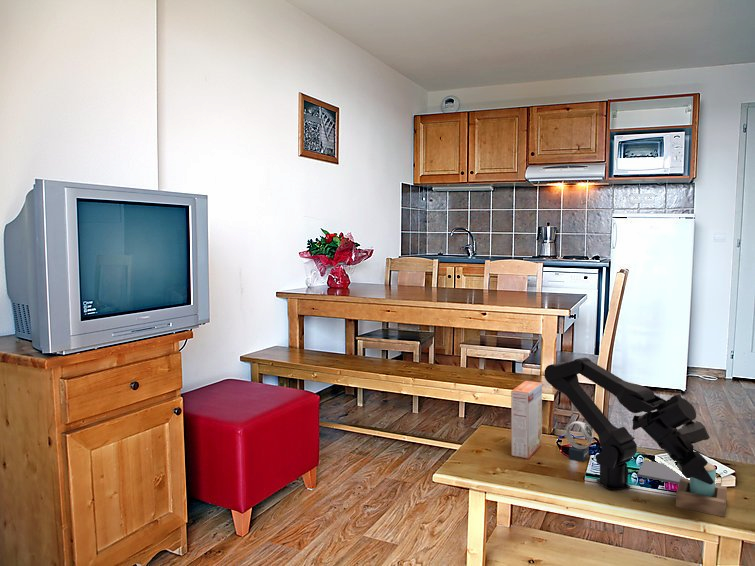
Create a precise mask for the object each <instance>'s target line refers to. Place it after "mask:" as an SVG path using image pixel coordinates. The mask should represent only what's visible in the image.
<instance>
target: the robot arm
mask: <svg viewBox="0 0 755 566" xmlns="http://www.w3.org/2000/svg"><path fill="white" fill-rule="evenodd" d="M578 375H581V376H583V377H585V378H586V379H587V380H590V381H591V382H592V383H594V384H596V385H597V386H599V387H600V388H602V389H604V390H605V391H607V392H608V393H610V394H611V395H613V396H614V397H616V399H617V401H618V402H619V404H621V406H623V407H624V408H625V409H626V410H628V411H629V412H630V413H632V414H638V413H639V414H640V413H642V412H644V413H643V414H641V415H634V416H633V418H632V430H633V431H635V430H637V429H640V428H641V429H642V430H643V431H644V432H645V433H646V434H647V436H648V437H650V438H651V439H652V440H653V441H654V442H655V443H656V444H657V446H658V447H659V448H660V449H661V450H663V451H664V452H665V453H666V454H667V455H668V456H669V457H670V459H671V460H672V461H673V462H677V466H678V468H679V470H680V471H681V472H682V474H683V475H684V476H685V477H686V478H691V477H693V478H696V479H698V480H701V481H703V482H705V483H708V484H710V485H711V484H713V483H714V481H713V479H712V478H711V476H710V475H709V474H708V472H707V471H706V469H705V468H704V466H706V465H707V463H709V462H708V460H707V459H706V458H705V457H704V456H703V455H702V454H701V453H700V452H699V451H694V445H693V444H697V443H699V442H703V441H707V440H709V439H710V435H709V433H708V431H707V428H706V426H705V425H704V424H703V423H702V422H700V421H698V420H697V421H696V418H697V411H696V409H695V408H694V405H693V404H691V403H690V402H689V401H688V400H687V399H685V398H683V397H682V395H681V394H679V393H678V394H674V395H673V396H671V397H670V398H668V399H667V400H666V399H664V398H662V397H660V396H659V395H656V394H655V393H654V391H653V390H652V389H650V388H649V387H648V388H647V386H646V387H645V386H644V385H640V384H637V383H634V382H628V381H626V380H624V379H622V378H620V377H618V376H617V375H615V374H614V373H612V372H611V371H609V370H607V369H605V368H603V367H602V366H600V365H598V364H597V363H595V362H593V361H592V360H591V359H590V358H587V357H580V358H576V359H573V360H572V361H569V362H566V361H562V362H557V363H551V364H550V365H549V364H548V365H547V366H546V367H545V370H544V377H543V378H544V380H545V381H546V382H547V383H548V384H549V385H550V386H551V387H552V388H553V389H555V390H557V391H558V392H561V393H562V394H563V395H565V396H566V397H567V398H568V400H569V401H570V402H571V403H572V405H573V406H574V407H575V408H576V410H577V411H578V413H579V414H580V415H581V416H582V418H583V419H584V420H585V421H586V423H587V424H588V425H589V426H590V428H591V430H592V431H594V433H596V435H597V438H598V441H599V446H600V448H601V450H602V451H600V452H599V453H597V454H596V455H595V456H594V457H595V461H596V464H597V465H599V478H596V479H595V481H596V482H597V483H598V484H600V486H602V487H604V488H605V489H607V490H609V491H615V490H616V491H617V490H624V489H630V488H631V485H629V484H628V482H629V468H628V463H629V462H631V460H632V458H633V457H635V456H636V455H637V451H638V449H637V447H638V446H637V443H636V442H635V437H634V436H633V435H632V434H630V432H629V431H628V429H627V428H626V427H625V426H621V427H616V426H615V425H613V424H612V423H611V421H610V420H609V419H608V418H607V417H606V415H605V414H604V413H603V412H602V411H601V409H600V408H599V406H597V404H596V403H595V402H594V401H593V399H592V398H591V397H590V396H589V394H587V392H586V391H585V389H583V387H582V386H581V385H580V382H579V377H578ZM679 427H680V428H679Z"/></svg>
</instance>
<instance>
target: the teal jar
mask: <svg viewBox="0 0 755 566" xmlns="http://www.w3.org/2000/svg"><path fill="white" fill-rule="evenodd" d="M704 468H705V469H706V471H707V472H708V474H709V475H710V476H711V478H712V479H713V481H714V483H713V484H711V485H710V484H708V483H705V482H703V481H701V480H698V479H696V478H693V477H691V478H690V488H689V493H694V494H699V495H704V496H709V497H713V498H714V496H715V477H716V473H717V470H716V468H715V465H714V464H712V463H710V462H708V463H707V465H706V466H704Z"/></svg>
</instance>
